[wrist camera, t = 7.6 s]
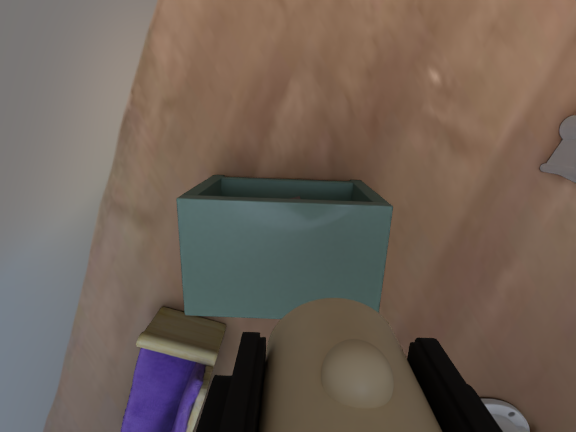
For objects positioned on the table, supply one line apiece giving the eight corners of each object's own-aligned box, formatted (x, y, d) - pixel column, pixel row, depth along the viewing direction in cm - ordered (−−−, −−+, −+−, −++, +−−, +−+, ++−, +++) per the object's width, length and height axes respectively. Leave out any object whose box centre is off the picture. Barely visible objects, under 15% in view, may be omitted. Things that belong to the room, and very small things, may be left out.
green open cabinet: (360, 180, 33) (393, 206, 22) (352, 264, 36) (377, 323, 25) (213, 174, 33) (176, 198, 22) (216, 259, 36) (184, 315, 25)
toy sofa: (162, 299, 38) (116, 361, 28) (229, 320, 38) (208, 387, 29) (130, 422, 43) (83, 509, 34) (189, 438, 44) (160, 527, 34)
